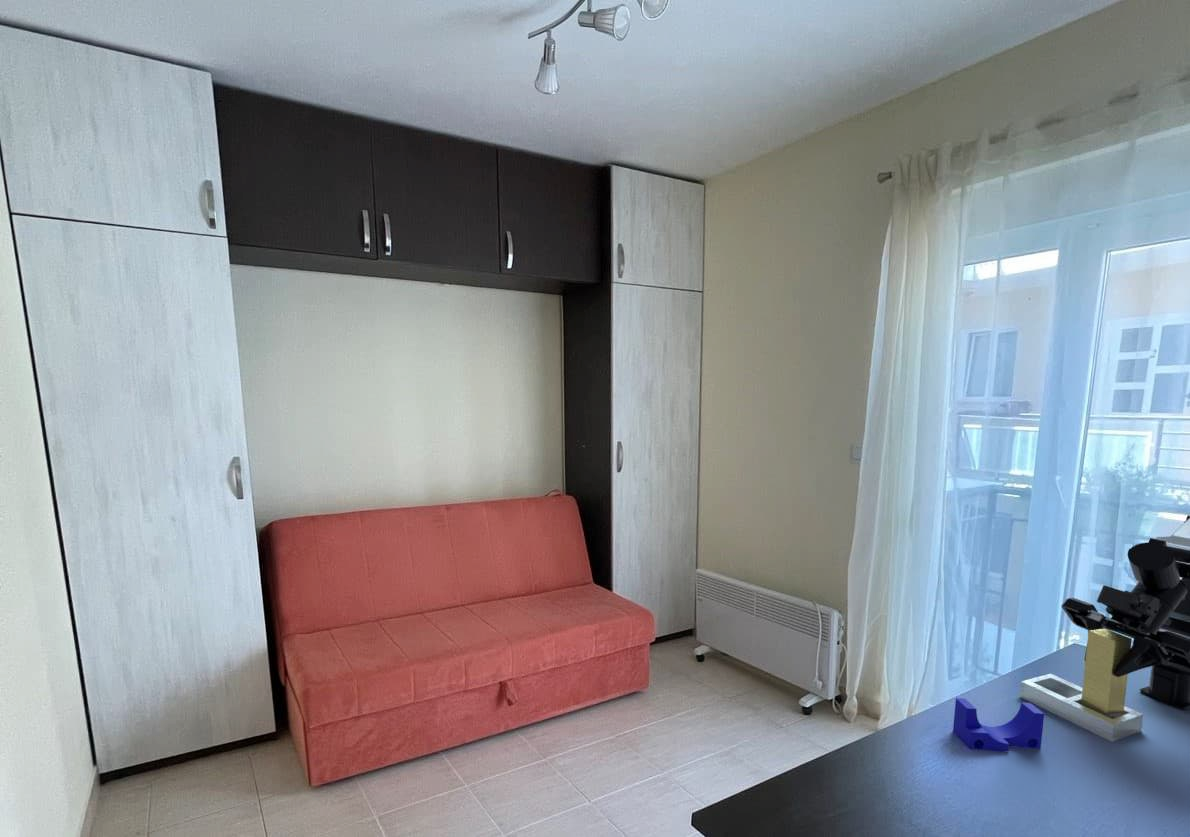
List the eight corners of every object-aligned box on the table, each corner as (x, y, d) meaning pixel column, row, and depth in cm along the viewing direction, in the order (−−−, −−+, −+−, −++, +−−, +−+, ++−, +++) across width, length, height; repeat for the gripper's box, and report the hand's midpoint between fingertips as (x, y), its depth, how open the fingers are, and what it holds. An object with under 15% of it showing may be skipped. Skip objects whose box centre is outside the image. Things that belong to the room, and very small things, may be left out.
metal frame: (1048, 688, 109) (1050, 673, 109) (1141, 731, 96) (1143, 714, 96) (1019, 696, 106) (1021, 681, 105) (1111, 742, 93) (1113, 724, 93)
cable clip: (969, 750, 89) (972, 713, 89) (952, 732, 94) (955, 697, 93) (1047, 755, 89) (1051, 719, 88) (1027, 738, 93) (1030, 703, 93)
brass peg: (1097, 699, 100) (1104, 628, 99) (1123, 712, 96) (1131, 638, 96) (1081, 701, 99) (1088, 630, 98) (1107, 715, 95) (1115, 640, 94)
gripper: (1073, 555, 106) (1024, 616, 104) (1203, 592, 88) (1147, 667, 86) (1098, 592, 109) (1051, 653, 107) (1229, 636, 91) (1176, 710, 89)
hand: (1100, 668), depth 97 cm, fingers closed on brass peg, 4 cm apart
